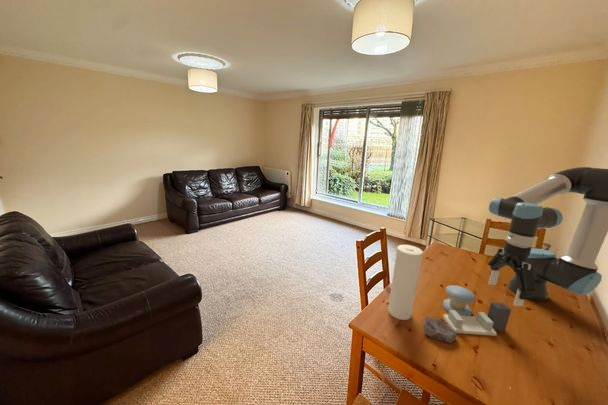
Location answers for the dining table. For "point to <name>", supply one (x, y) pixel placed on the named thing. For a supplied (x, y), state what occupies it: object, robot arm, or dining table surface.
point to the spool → (459, 300)
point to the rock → (438, 330)
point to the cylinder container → (404, 281)
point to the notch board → (470, 323)
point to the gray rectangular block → (499, 315)
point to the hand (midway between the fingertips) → (503, 294)
